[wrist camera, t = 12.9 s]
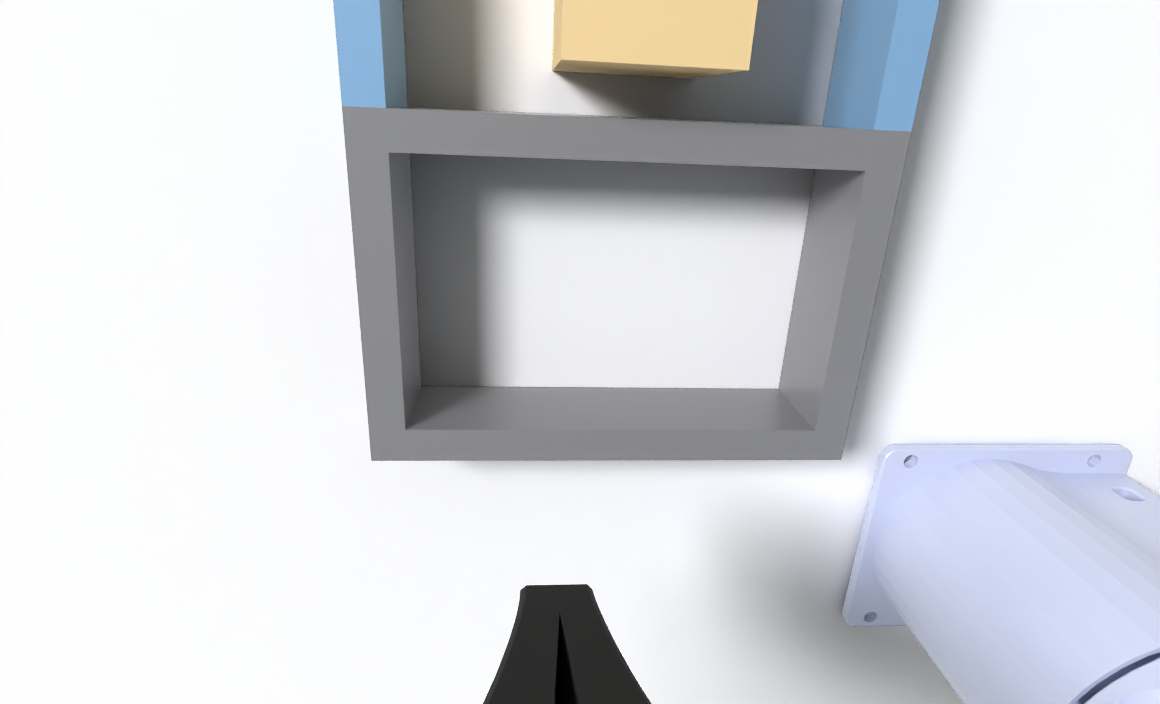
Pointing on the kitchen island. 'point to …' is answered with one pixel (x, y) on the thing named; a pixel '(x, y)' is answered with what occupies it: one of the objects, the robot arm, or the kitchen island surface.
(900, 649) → the kitchen island surface
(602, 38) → the sand colored cube
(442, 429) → the two-compartment tray
